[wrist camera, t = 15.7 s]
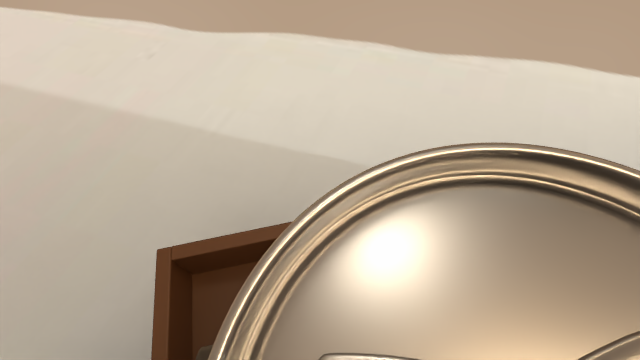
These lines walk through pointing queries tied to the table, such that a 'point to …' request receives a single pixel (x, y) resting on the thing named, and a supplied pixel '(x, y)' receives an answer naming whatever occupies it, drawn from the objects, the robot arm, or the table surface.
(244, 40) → the table surface
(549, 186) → the can
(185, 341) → the tray
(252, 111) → the table surface
